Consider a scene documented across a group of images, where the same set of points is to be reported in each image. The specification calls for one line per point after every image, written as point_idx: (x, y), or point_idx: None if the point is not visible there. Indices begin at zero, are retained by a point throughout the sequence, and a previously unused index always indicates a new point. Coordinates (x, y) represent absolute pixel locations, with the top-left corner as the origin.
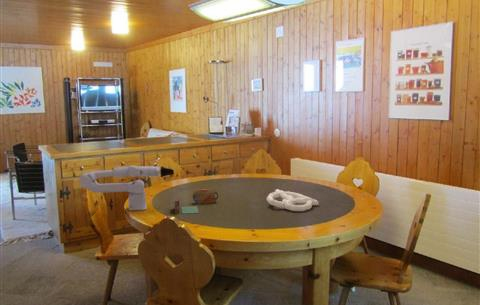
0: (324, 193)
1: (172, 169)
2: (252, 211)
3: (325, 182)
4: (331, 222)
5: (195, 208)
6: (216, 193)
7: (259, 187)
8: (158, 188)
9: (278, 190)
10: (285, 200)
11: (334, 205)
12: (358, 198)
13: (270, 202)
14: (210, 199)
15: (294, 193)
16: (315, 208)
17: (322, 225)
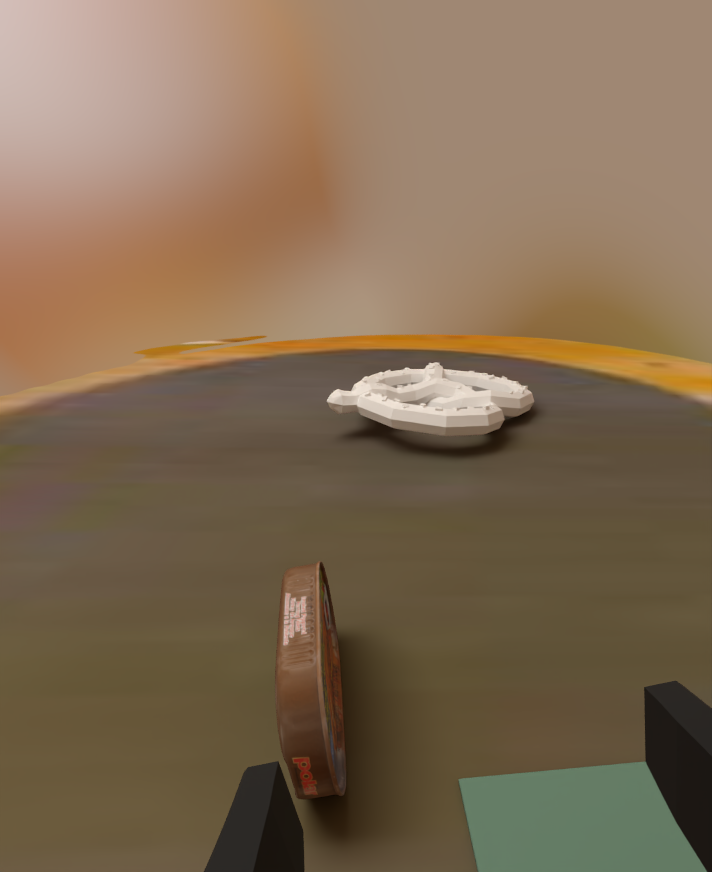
0: (277, 372)
1: (274, 779)
2: (546, 495)
3: (132, 368)
4: (631, 373)
5: (555, 792)
6: (320, 578)
7: (62, 473)
8: None
9: (349, 392)
10: (494, 390)
11: None
12: (357, 345)
13: (489, 425)
14: (330, 651)
15: (378, 378)
16: None
17: (676, 383)
